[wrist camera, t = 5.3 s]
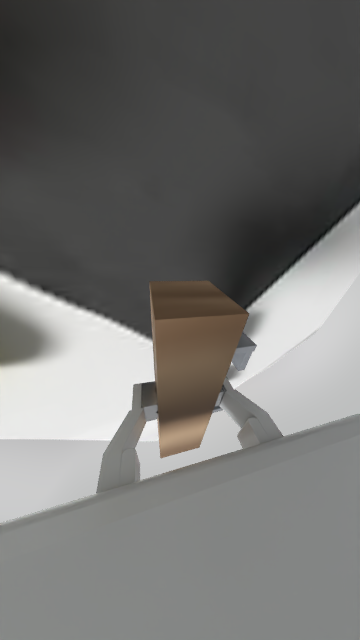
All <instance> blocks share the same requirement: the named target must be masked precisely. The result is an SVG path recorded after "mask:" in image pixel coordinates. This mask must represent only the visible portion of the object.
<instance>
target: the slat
mask: <svg viewBox="0 0 360 640" xmlns="http://www.w3.org/2000/svg"><path fill="white" fill-rule="evenodd" d="M149 282H150V300H151V318H152V336H153V353H154V371H155V381H156V390H157V400H158V418H159V419H157V420H158V433H159V444H160V458H163V457H167V456H170V455H174V454H178V453H181V452H185V451H188V450H192V449H195V448H199V447H200V444H201V441H202V439H203V436H204V433H205V431H206V428H207V425H208V423H209V420H210V417H211V414H212V412H213V409H214V407H215V404H216V401H217V399H218V396H219V393H220V391H221V388H222V385H223V383H224V380H225V377H226V375H227V372H228V369H229V367H230V364H231V361H232V359H233V356H234V353H235V351H236V348H237V345H238V343H239V340H240V337H241V335H242V332H243V329H244V327H245V324H246V321H247V319H248V316H249V313H248V312H247V311H245V310H244V309H243V308H242V307H240V306H239V305H238V304H237V303H235V302H234V301H233V300H232V299H230V298H229V297H228V296H227V295H225V294H224V293H223V292H222V291H220V290H219V289H218V288H217V287H215V286H214V285H213V284H212V283H210V282H209V281H149Z"/></svg>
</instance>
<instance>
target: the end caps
mask: <svg viewBox="0 0 360 640" xmlns="http://www.w3.org/2000/svg"><path fill="white" fill-rule="evenodd" d="M256 346H257V345H256V344H255V343H254V342H253V341H252V340H251V339H250V338H248V337H247V336H246V335H245V334H244V333H243V332H242V335H241V337H240V340H239V343H238V345H237V348H236V351H235V353H234V356H233V359H232V363H233V364H234V365H235V367H236V368H237V370H238V371H240V370H244V369H245V367H246V365H247V363H248V360H249V358H250V356H251V354H252V351H254V350H255V348H256ZM221 410H223V409H222V408H221V407H220V406H215V407H214V409H213V412H212V413H214V412H218V411H221Z"/></svg>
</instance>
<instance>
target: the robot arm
mask: <svg viewBox="0 0 360 640" xmlns="http://www.w3.org/2000/svg"><path fill="white" fill-rule="evenodd" d="M215 406H220V407H221V408H222V409H223V410H224V411H225V412H226V413H227V414H228V415H229V416H230V417H231V418H232V419H233V420H234V421H235V422H236V423H237V424H238V425H239V426H240V427H241V428H242V429H241V430H240V432H239V433H238V436H237V437H238V439H239V441H240V443H241V445H242V448H243V449H242V450H238V451H235V452H231V453H228V454H225V455H222V456H218V457H215V458H212V459H209V460H205V461H202V462H199V463H195V464H192V465H189V466H186V467H183V468H179V469H176V470H173V471H169V472H166V473H163V474H159V475H156V476H153V477H150V478H147V479H143V480H140V463H139V460H138V456H137V453H136V450H135V447H136V445H137V442H138V440H139V438H140V435H141V433H142V431H143V428H144V426H145V424H146V422H147V421H151V420H155V419H159V418H158V400H157V390H156V381H154V382H147V383H140V384H134V386H133V400H132V410H130V411H129V412H128V414H127V416H126V417H125V419H124V421H123V422H122V424H121V426H120V427H119V429H118V431H117V432H116V434H115V436H114V437H113V439H112V440H111V442H110V444H109V445H108V447H107V449H106V450H105V452H104V454H103V458H102V464H101V470H100V475H99V481H98V487H97V492H96V494H94V495H91V496H88V497H85V498H81V499H78V500H75V501H71V502H68V503H65V504H61V505H58V506H55V507H52V508H49V509H45V510H42V511H39V512H35V513H32V514H29V515H26V516H23V517H19V518H16V519H12V520H9V521H6V522H3V523H0V640H360V414H356V415H352V416H349V417H346V418H343V419H340V420H336V421H333V422H329V423H326V424H323V425H320V426H316V427H313V428H310V429H307V430H304V431H300V432H297V433H294V434H291V435H287V436H283V435H282V434H281V432H280V431H279V429H278V428H277V426H276V425H275V423H274V422H273V420H272V419H271V418H270V416H269V414H268V413H267V412H266V411H264V410H263V409H261V408H260V407H259V406H257V405H256V404H255V403H253V402H252V401H250V400H249V399H248V398H246V397H245V396H244V395H242V394H241V393H240V392H238V391H237V390H234V389H233V388H232V386H231V384H230V382H229V381H228V379H227V377H225V380H224V383H223V385H222V388H221V391H220V393H219V396H218V399H217V401H216V404H215Z"/></svg>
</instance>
